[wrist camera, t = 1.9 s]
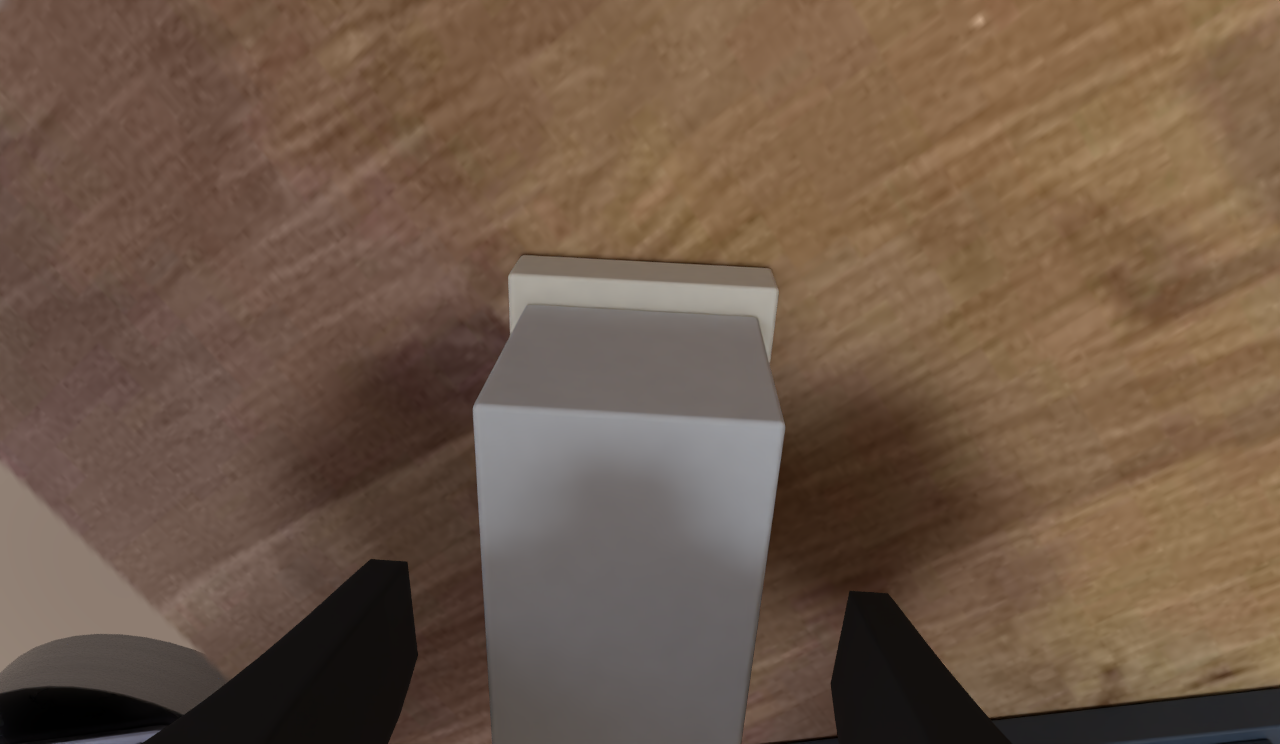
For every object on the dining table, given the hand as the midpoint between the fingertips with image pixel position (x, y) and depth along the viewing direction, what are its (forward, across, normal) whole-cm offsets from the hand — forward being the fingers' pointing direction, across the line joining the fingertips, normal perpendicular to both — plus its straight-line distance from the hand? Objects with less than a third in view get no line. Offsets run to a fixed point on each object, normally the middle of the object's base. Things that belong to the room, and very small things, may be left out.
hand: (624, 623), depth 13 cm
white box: (+4, 0, 0) cm, 4 cm away
